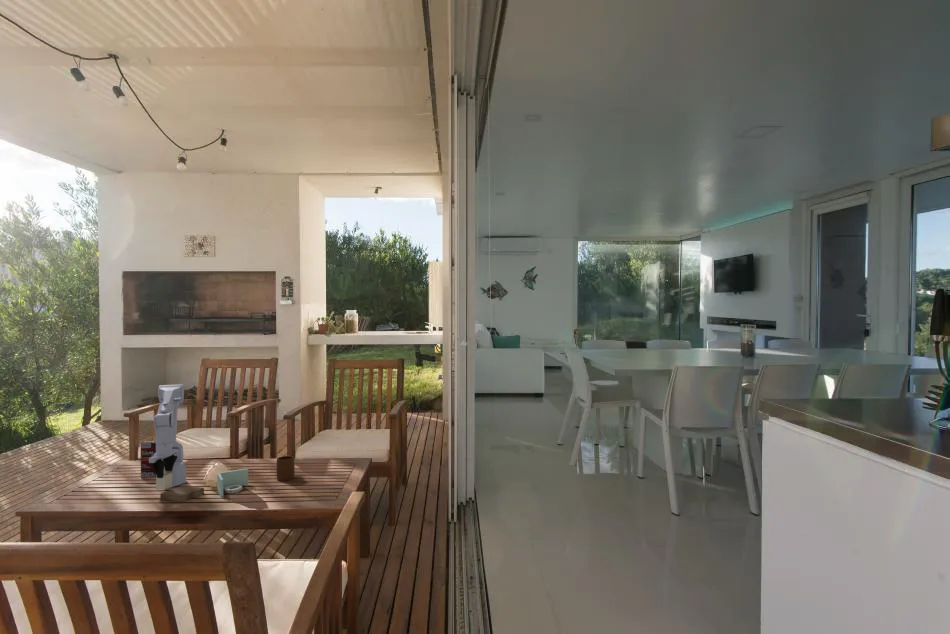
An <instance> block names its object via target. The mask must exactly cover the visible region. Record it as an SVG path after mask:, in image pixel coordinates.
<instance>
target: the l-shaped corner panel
mask: <svg viewBox="0 0 950 634" xmlns="http://www.w3.org/2000/svg"><path fill="white" fill-rule="evenodd" d="M216 474H217V475H216V481H217V482H216V483H217V484H216V485H217V487H216V489H217V492H218V494H219V497H220V498H224V493H225V494H238V493H239V492H241V491H243V490H244V488H243V485H244V486H249V468H247V467H246V468H240V469H235V470H228V471H221V472H217V473H216Z"/></svg>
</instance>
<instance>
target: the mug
mask: <svg viewBox="0 0 950 634" xmlns="http://www.w3.org/2000/svg"><path fill="white" fill-rule="evenodd" d="M295 469H296V468H295V457H294V456H292V455H291V454H288V455H285V456H279V457H278V458H276V480H277V481H279V482H288V481H291V480H293V479H295V473H296V472H295Z"/></svg>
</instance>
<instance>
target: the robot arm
mask: <svg viewBox="0 0 950 634" xmlns="http://www.w3.org/2000/svg"><path fill="white" fill-rule="evenodd" d="M157 397H158V401H159V405H158V409H157V413H156V415H154V416H153V427H154V433H155V441H156V453H155V454H154V456H152V457H151V458H149V463H150V464H151V465H152V466H153V468H154V470H155V472H156V475H157V478H163V475H164V471H173V473H172V487H170V488H169V489H171V488H174V487H177V486H180V485H182V484H183V485H184V484H185V483H188V480H187V467H186V464H185V463H184V447H183V445H182V443H180V442H178V441H177V435H178V434H177V433H178V432H177V430H178V410H179V406H180V405H182V404H183V403H184V400H185V398H184V397H185V385H184V384H183V383H180V384H179V383H177V384H163V385H162V384H160V385H159V386H158V388H157Z"/></svg>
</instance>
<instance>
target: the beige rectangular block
mask: <svg viewBox="0 0 950 634" xmlns="http://www.w3.org/2000/svg"><path fill="white" fill-rule="evenodd" d="M172 473H173V471H164V475H163V478H157V475H156V477H155V489H156V490H166V489H171V488H173V487H172ZM170 487H171V488H170Z"/></svg>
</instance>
